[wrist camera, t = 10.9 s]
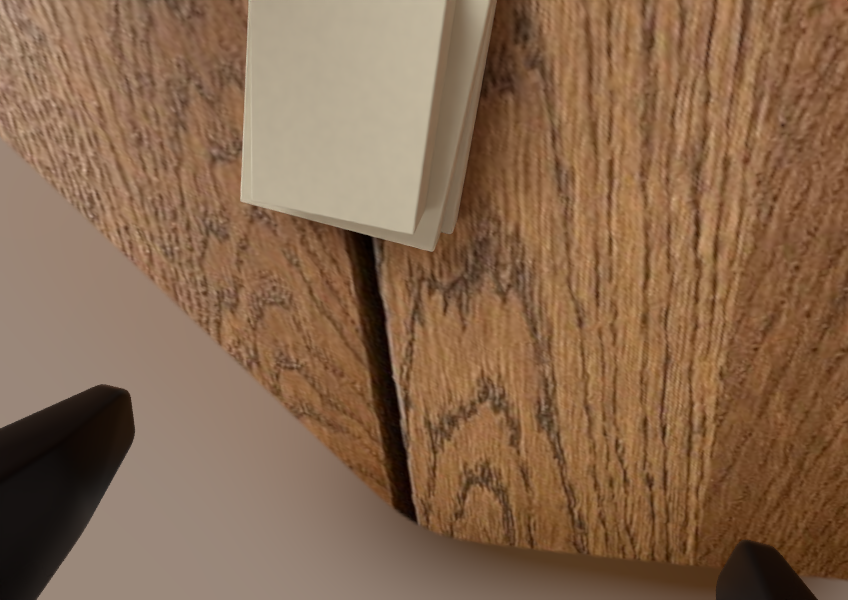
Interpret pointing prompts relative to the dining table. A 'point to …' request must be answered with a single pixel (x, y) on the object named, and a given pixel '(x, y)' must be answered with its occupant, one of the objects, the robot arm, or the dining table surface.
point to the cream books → (451, 134)
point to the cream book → (347, 106)
